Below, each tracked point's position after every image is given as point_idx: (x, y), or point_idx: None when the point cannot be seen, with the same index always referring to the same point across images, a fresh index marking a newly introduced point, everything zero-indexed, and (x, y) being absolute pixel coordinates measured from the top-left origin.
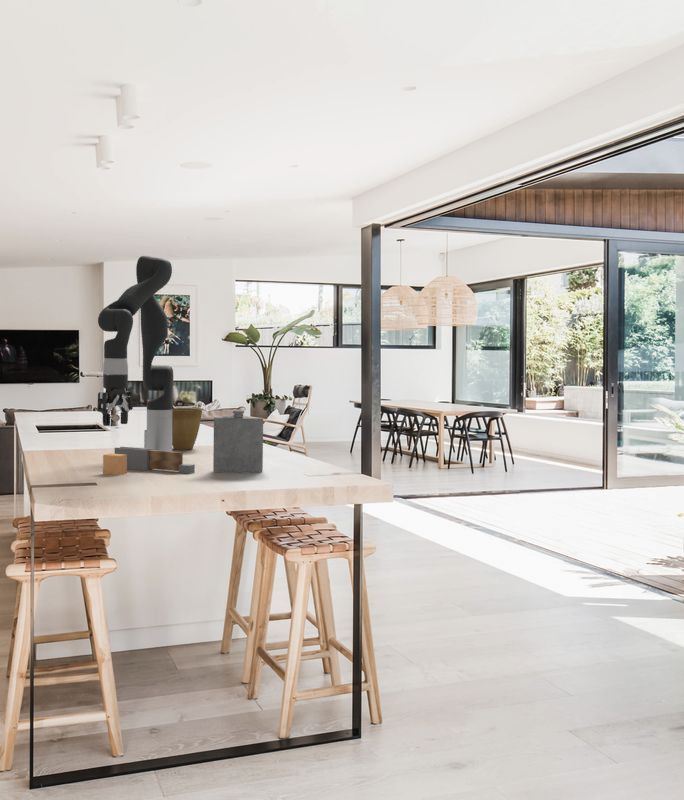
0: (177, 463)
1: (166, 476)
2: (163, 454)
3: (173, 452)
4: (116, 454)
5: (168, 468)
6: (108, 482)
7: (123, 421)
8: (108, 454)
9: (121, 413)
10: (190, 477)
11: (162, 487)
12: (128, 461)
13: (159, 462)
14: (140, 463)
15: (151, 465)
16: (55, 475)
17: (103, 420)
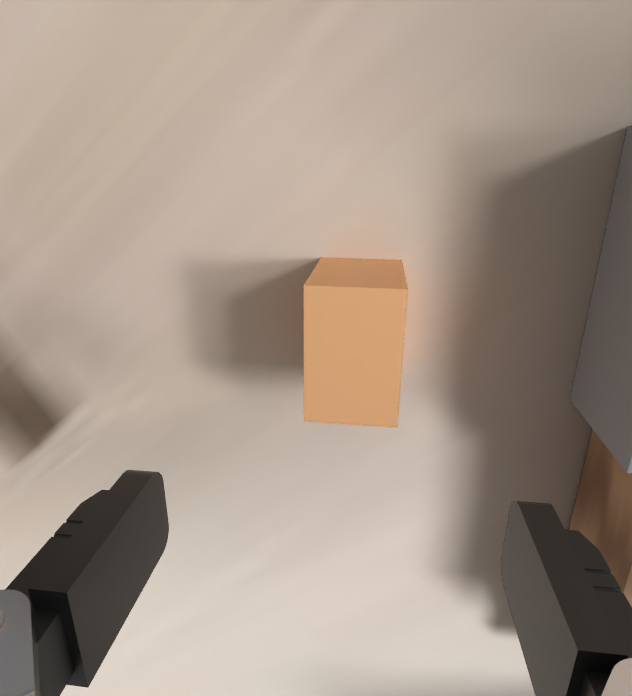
0: None
1: (393, 579)
2: (618, 561)
3: None
4: (371, 359)
5: (573, 529)
6: (105, 457)
7: (513, 562)
8: (339, 309)
9: (562, 645)
10: (415, 666)
11: (143, 670)
12: (622, 268)
13: (599, 496)
14: (595, 369)
15: None
16: (98, 36)
17: (67, 535)
